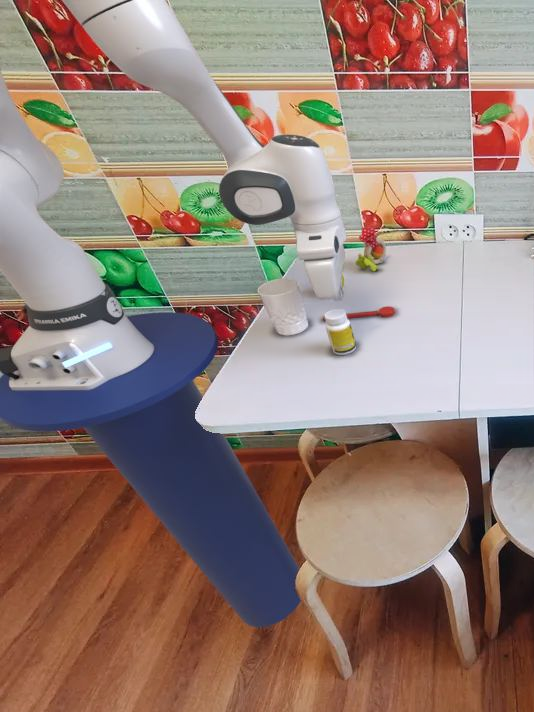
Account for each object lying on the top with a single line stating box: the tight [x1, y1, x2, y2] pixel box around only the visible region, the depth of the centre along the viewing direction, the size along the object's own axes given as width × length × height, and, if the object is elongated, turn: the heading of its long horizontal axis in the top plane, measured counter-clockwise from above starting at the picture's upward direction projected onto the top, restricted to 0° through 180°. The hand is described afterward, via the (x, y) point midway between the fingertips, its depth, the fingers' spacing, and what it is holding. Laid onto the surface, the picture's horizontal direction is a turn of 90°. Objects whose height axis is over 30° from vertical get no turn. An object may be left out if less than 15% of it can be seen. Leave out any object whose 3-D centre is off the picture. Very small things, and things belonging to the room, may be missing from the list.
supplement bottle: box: [324, 308, 357, 356], centre depth 93 cm, size 5×5×8 cm
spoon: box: [322, 305, 396, 322], centre depth 106 cm, size 16×4×1 cm, turn 101°
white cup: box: [257, 277, 309, 336], centre depth 100 cm, size 8×8×10 cm
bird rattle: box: [354, 227, 387, 272], centre depth 124 cm, size 6×11×9 cm
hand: (339, 297), depth 96 cm, fingers closed
